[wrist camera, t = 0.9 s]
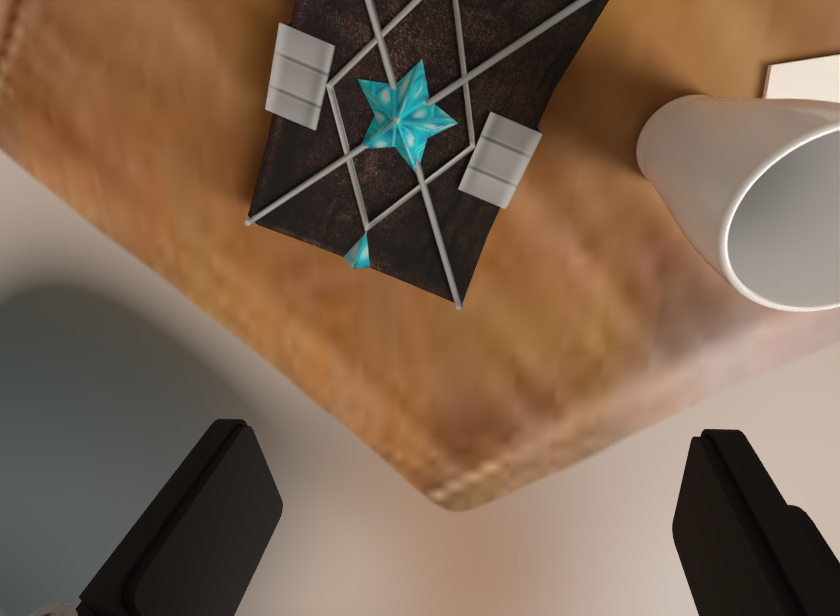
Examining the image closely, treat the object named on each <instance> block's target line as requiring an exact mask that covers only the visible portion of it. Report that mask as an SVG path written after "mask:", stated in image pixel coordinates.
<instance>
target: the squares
mask: <svg viewBox="0 0 840 616" xmlns="http://www.w3.org/2000/svg"><path fill="white" fill-rule="evenodd" d="M762 98H806V99H819V100H829V101H836V102H840V54H837V55H831V56H824V57H818V58H811V59H805V60H799V61H792V62H786V63H779V64H773V65H768V69H767V75H766V80H765V86H764V91H763V97H762Z"/></svg>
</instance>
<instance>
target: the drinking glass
mask: <svg viewBox="0 0 840 616" xmlns="http://www.w3.org/2000/svg"><path fill="white" fill-rule="evenodd" d="M636 157H637V162H638V166H639V168H640V170H641V172H642V173H643V175H644V176H645V177H646V178H647V179H648V180H649V181H650V182H651V183H652V185H653V186H654V188H655V189H656V191H657V193H658V194H659V196H660V197H661V199H662V200H663V202H664V204H665V205H666V207H667V208H668V210H669V212H670V213H671V215H672V217H673V218H674V220H675V221H676V223H677V225H678V226H679V228H680V229H681V231H682V232H683V234H684V235H685V237H686V238H687V240H688V241H689V242H690V244H691V245H692V246H693V247H694V249H695V250H696V251H697V252H698V253H699V255H700V256H701V257H702V258H703V259H704V260H705V261H706V262H707V263H708V264H709V265H710V266H711V267H712V268H713V269H714V270H715V271H716V272H717V273H718V274H719V275H720V276H721V277H723V278H724V279H725V280H726V281H727V282H728V283H729V284H731V285H732V286H733V287H734V288H735V289H736V290H737V291H738V292H739V293H741V294H742V295H743V296H745V297H746V298H748V299H750V300H752V301H753V302H756V303H758V304H760V305H763V306H766V307H770V308H774V309H778V310H785V311H798V312H803V311H818V310H825V309H831V308H836V307H840V102H836V101H829V100H819V99H806V98H737V97H714V96H709V95H701V94H695V95H687V96H683V97H680V98H677V99H674V100H672V101H670V102H668V103H667V104H665V105H664V106H662V107H661V108H659V109H658V110H657V111H656V112H655V113H654V114H653V115H652V116H651V117H650V118H649V119H648V121H647V122H646V123H645V125H644V127H643V129H642V131H641V133H640V135H639V138H638V141H637V147H636Z"/></svg>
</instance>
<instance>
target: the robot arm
mask: <svg viewBox="0 0 840 616" xmlns="http://www.w3.org/2000/svg"><path fill="white" fill-rule="evenodd" d="M282 509H283V502H282V499H281V497H280V494H279V492H278V489H277V487H276V484H275V482H274V480H273V477H272V475H271V472H270V470H269V467H268V465H267V463H266V460H265V458H264V455H263V453H262V450H261V448H260V446H259V443H258V441H257V438H256V436H255V433H254V431H253V429H252V427H250V426H248V425H247V424H246V422H245V421H244V420H241V419H218V420H216V421H214V422H213V423H212V424H211V426H210V427H209V428H208V430H207V431H206V432H205V434H204V435H203V436H202V437H201V439H200V440H199V441H198V443H197V444H196V445H195V447H194V448H193V449H192V450H191V452H190V453H189V454H188V456H187V457H186V458H185V460H184V461H183V462H182V463H181V465H180V466H179V467H178V469H177V470H176V471H175V473H174V474H173V475H172V476H171V478H170V479H169V480H168V482H167V483H166V484H165V486H164V487H163V488H162V489H161V491H160V492H159V493H158V495H157V496H156V497H155V499H154V500H153V501H152V502H151V504H150V505H149V506H148V508H147V509H146V510H145V512H144V513H143V514H142V515H141V517H140V518H139V519H138V521H137V522H136V523H135V525H134V526H133V527H132V528H131V530H130V531H129V532H128V534H127V535H126V536H125V538H124V539H123V540H122V542H121V543H120V544H119V545H118V547H117V548H116V549H115V551H114V552H113V553H112V554H111V556H110V557H109V558H108V560H107V561H106V562H105V564H104V565H103V566H102V567H101V569H100V570H99V571H98V573H97V574H96V575H95V577H94V578H93V579H92V581H91V582H90V583H89V584H88V586H87V587H86V588H85V590H84V591H83V592H82V594H81V595H80V596H79V598H80V599H81V600H82V602H81V603H80V604H79V605H78V607H77V608H76V609H74V608H73V607H72V606H71V605H67V604H55V605H50V606H47V607H45V608H42V609H40V610H37V611H35V612H34V613H32V614H31V615H29V616H234V615H235V612H236V610H237V608H238V606H239V604H240V602H241V600H242V598H243V595H244V593H245V591H246V589H247V587H248V585H249V583H250V581H251V579H252V576H253V574H254V572H255V570H256V568H257V566H258V564H259V562H260V560H261V557H262V555H263V553H264V551H265V549H266V547H267V545H268V543H269V541H270V538H271V536H272V534H273V532H274V530H275V528H276V526H277V524H278V521H279V519H280V517H281V514H282ZM672 531H673V539H674V543H675V546H676V549H677V552H678V555H679V558H680V561H681V564H682V567H683V570H684V573H685V576H686V578H687V581H688V584H689V587H690V590H691V593H692V596H693V599H694V602H695V605H696V608H697V611H698V614H699V616H840V563H839V561H838V560H837V558H836V557H835V555H834V553H833V552H832V550H831V549H830V547H829V546H828V544H827V543H826V541H825V540H824V538H823V536H822V535H821V533H820V532H819V530H818V529H817V527H816V525H815V524H814V522H813V521H812V520H811V518H810V517H809V516H808V515H807V513H806V512H804V511H803V510H802V509H801V508H799V507H797V506H793V505H787V503H786V502H785V500H784V499H783V497H782V495H781V494H780V492H779V490H778V489H777V487H776V485H775V484H774V482H773V480H772V479H771V477H770V476H769V474H768V472H767V471H766V469H765V467H764V466H763V464H762V462H761V461H760V459H759V458H758V456H757V454H756V453H755V451H754V450H753V448H752V446H751V445H750V443H749V442H748V440H747V438H746V436H745V435H744V434H743V433H742V432H741V431H740V430H724V429H722V430H721V429H704V431H702V433H701V436H700V437H693V438H692V440H691V443H690V448H689V452H688V457H687V461H686V466H685V470H684V475H683V479H682V484H681V488H680V493H679V497H678V501H677V506H676V510H675V515H674V519H673V525H672Z"/></svg>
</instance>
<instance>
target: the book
mask: <svg viewBox="0 0 840 616" xmlns="http://www.w3.org/2000/svg"><path fill="white" fill-rule="evenodd" d="M608 1H609V0H295V4H294V9H293V14H292V19H291V24H290V23H280V22H279V27H278V33H277V39H276V46H275V52H274V58H273V64H272V70H271V76H270V82H269V88H268V94H267V100H266V106H265V110H268V111H270V112H272V113H273V115H272V120H271V125H270V130H269V135H268V141H267V145H266V149H265V152H264V156H263V160H262V164H261V168H260V171H259V175H258V179H257V183H256V187H255V190H254V194H253V198H252V202H251V206H250V210H249V213H248V216H249V217H250V219H248V220H247V221H245V222H244V224H245V225H246V226H247V227H248V226H249V225H251V224H252V223H254V222H255V223H256V224H258V225H260V226H263V227H265V228H268V229H271V230H273V231H276V232H279V233H282V234H284V235H287V236H290V237H292V238H295V239H298V240H301V241H303V242H306V243H309V244H311V245H314V246H317V247H320V248H322V249H325V250H327V251H330V252H332V253H335V254H337V255H340V256H342V257H344V258H345V259H346V261H347V262H348V263H349V265H350V266H351V267H352V268H372V269H375V270H377V271H380V272H382V273H384V274H387V275H389V276H392V277H394V278H397V279H399V280H402V281H404V282H407V283H409V284H412V285H414V286H416V287H419V288H421V289H423V290H426V291H428V292H431V293H433V294H435V295H438V296H440V297H442V298H445V299H447V300H449V301H452V302H454V303H455V305H456V309H457V310H462V306H463V300H464V297H465V295H466V292H468V287H469V284H470V281H471V278H472V276H473V273H474V270H475V268H476V265H477V262H478V260H479V257H480V254H481V251H482V249H483V246H484V243H485V241H486V238H487V235H488V233H489V231H490V229H491V227H492V224H493V222H494V220H495V218H496V216H497V213H498V211H499V209H500V207H502V208H504V209H506V208H507V206H508V204H509V202H510V200H511V198H512V196H513V194H514V192H515V190H516V188H517V186H518V184H519V182H520V180H521V178H522V176H523V174H524V172H525V169H526V167H527V165H528V163H529V161H530V159H531V157H532V155H533V153H534V151H535V149H536V147H537V145H538V143H539V141H540V139H541V137H542V135H543V133H542V131H541V129H540V126H538V123H539V121H540V119H541V117H542V114H543V112H544V110H545V108H546V106H547V103H548V101H549V99H550V97H551V95H552V92H553V90H554V89H555V87H556V86H557V84H558V82H559V81H560V79H561V77H562V76H563V74H564V73H565V71H566V69H567V68H568V66H569V64H570V63H571V61H572V60H573V58H574V56H575V55H576V53H577V51H578V50H579V48H580V46H581V45H582V43H583V42H584V40H585V38H586V37H587V35H588V33H589V32H590V30H591V29H592V27H593V25H594V24H595V22H596V20H597V19H598V17H599V16H600V14H601V12H602V11H603V9H604V7H605V6H606V4H607V3H608ZM537 127H538V130H537V131H535V130H536V128H537Z"/></svg>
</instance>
